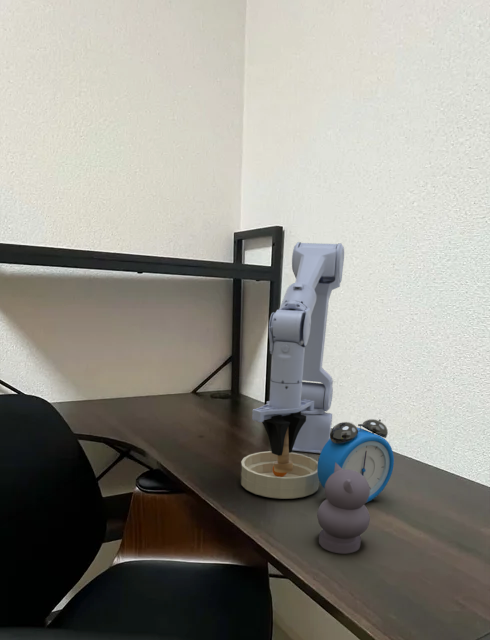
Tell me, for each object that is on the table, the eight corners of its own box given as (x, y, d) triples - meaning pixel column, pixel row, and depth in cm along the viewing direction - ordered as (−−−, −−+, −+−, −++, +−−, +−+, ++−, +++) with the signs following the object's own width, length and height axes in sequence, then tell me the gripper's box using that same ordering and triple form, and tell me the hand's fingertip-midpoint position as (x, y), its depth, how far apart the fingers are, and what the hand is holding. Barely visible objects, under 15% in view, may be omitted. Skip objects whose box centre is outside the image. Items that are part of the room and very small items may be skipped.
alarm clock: (331, 512, 91) (341, 429, 85) (312, 498, 96) (319, 419, 90) (389, 500, 96) (401, 422, 90) (368, 488, 101) (378, 413, 95)
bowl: (321, 476, 107) (323, 455, 105) (314, 505, 93) (316, 482, 91) (250, 468, 109) (250, 448, 107) (232, 495, 96) (232, 472, 94)
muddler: (286, 466, 102) (285, 421, 99) (296, 470, 99) (295, 423, 96) (270, 469, 100) (269, 423, 97) (280, 473, 97) (279, 426, 94)
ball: (290, 471, 105) (288, 459, 103) (285, 480, 103) (282, 469, 101) (277, 469, 106) (274, 458, 104) (272, 479, 104) (269, 468, 102)
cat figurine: (373, 556, 77) (385, 481, 72) (321, 558, 76) (330, 482, 71) (356, 530, 84) (365, 461, 80) (309, 531, 83) (315, 461, 79)
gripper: (296, 373, 100) (291, 440, 106) (241, 381, 91) (239, 454, 96) (325, 379, 96) (318, 449, 101) (269, 388, 86) (266, 464, 92)
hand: (281, 452), depth 98 cm, fingers closed on muddler, 2 cm apart
